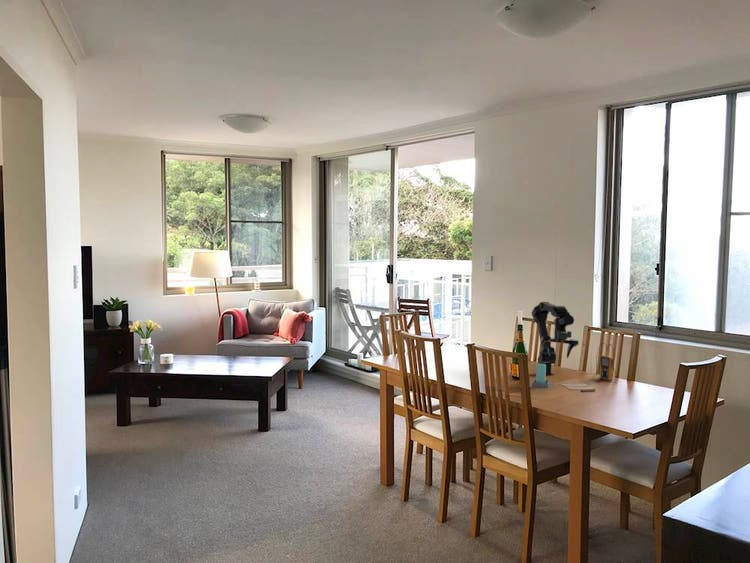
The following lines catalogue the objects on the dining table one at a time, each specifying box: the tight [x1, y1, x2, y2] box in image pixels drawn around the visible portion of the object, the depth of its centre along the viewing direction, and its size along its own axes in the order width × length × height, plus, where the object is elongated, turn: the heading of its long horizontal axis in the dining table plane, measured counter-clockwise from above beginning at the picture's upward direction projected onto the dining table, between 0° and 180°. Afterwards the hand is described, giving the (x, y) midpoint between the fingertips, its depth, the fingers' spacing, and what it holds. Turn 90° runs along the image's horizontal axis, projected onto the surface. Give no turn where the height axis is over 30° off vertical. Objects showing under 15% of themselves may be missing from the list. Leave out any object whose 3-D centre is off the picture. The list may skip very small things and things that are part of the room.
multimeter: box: [592, 342, 619, 383], centre depth 323 cm, size 15×10×20 cm
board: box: [559, 382, 596, 393], centre depth 304 cm, size 13×13×1 cm
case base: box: [529, 378, 553, 390], centre depth 307 cm, size 14×11×3 cm
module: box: [535, 362, 547, 384], centre depth 307 cm, size 5×4×11 cm
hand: (558, 356), depth 314 cm, fingers open, 9 cm apart
